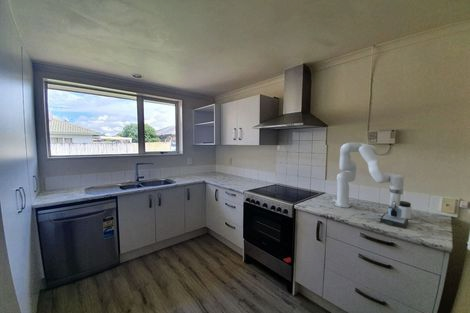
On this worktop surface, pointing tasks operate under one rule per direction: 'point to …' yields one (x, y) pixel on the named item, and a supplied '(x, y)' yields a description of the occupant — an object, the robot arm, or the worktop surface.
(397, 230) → the worktop surface
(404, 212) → the jar
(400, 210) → the bowl
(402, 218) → the scale
